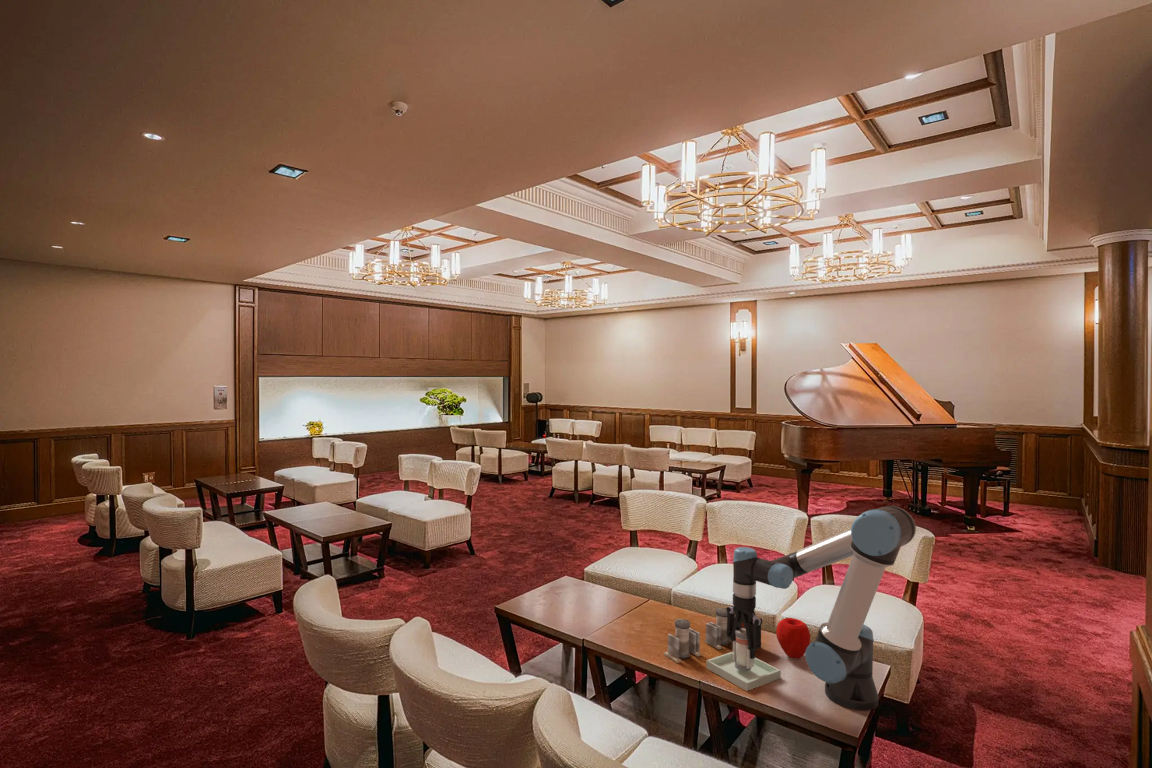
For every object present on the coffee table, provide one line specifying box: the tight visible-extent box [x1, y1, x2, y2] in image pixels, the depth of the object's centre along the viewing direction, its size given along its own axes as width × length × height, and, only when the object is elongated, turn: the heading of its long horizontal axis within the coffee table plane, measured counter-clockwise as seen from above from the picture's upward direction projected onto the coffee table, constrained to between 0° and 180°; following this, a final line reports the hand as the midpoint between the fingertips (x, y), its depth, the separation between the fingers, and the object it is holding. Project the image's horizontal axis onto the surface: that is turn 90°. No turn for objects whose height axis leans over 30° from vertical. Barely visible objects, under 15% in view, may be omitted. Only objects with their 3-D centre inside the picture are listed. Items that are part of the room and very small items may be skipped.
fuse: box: [735, 628, 751, 671], centre depth 191 cm, size 5×5×12 cm
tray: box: [705, 651, 782, 692], centre depth 191 cm, size 18×17×3 cm
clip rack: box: [663, 607, 732, 664], centre depth 209 cm, size 7×32×12 cm, turn 123°
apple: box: [775, 617, 811, 660], centre depth 204 cm, size 12×12×13 cm
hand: (743, 663), depth 191 cm, fingers closed on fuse, 5 cm apart
